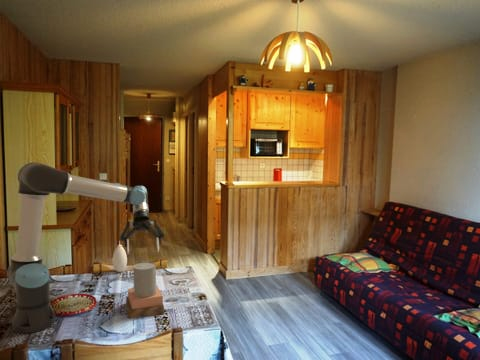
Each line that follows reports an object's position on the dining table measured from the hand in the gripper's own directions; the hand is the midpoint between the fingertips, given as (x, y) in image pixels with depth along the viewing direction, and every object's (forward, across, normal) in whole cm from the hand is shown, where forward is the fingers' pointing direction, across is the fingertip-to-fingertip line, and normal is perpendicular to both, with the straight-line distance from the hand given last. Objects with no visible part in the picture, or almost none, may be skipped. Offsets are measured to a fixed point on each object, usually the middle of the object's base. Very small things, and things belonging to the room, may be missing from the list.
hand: (143, 252), depth 171 cm
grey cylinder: (+18, 0, -5) cm, 18 cm away
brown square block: (+20, 0, -8) cm, 22 cm away
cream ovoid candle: (-13, +10, -47) cm, 49 cm away
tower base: (+23, 0, -11) cm, 25 cm away
